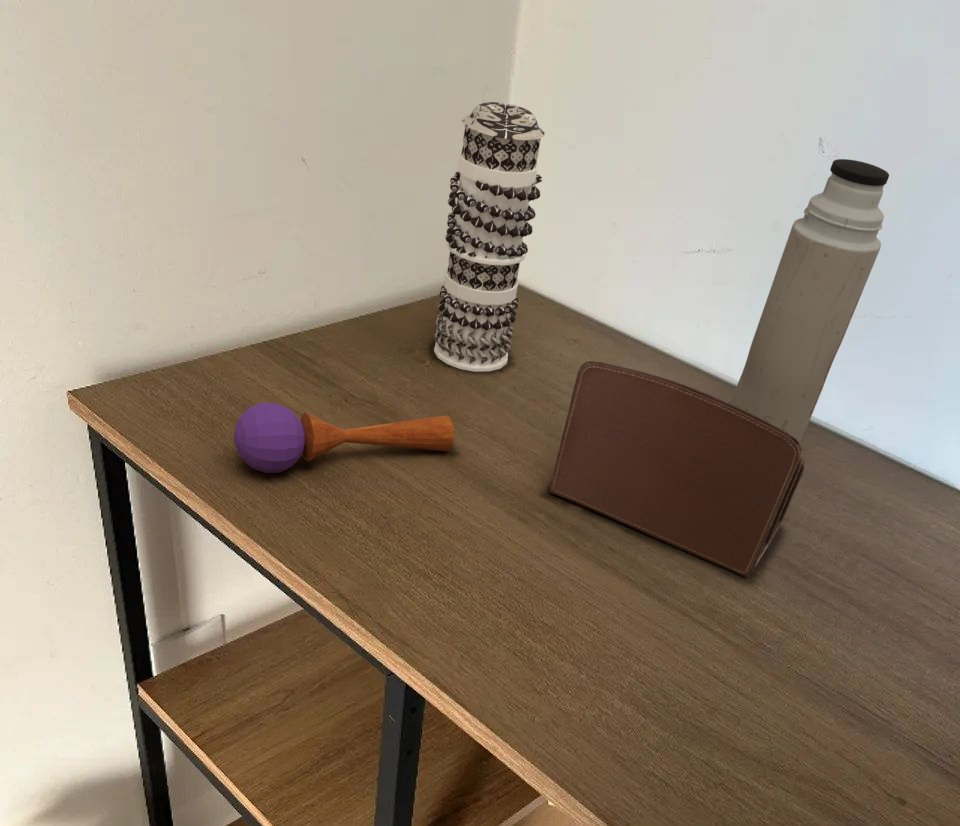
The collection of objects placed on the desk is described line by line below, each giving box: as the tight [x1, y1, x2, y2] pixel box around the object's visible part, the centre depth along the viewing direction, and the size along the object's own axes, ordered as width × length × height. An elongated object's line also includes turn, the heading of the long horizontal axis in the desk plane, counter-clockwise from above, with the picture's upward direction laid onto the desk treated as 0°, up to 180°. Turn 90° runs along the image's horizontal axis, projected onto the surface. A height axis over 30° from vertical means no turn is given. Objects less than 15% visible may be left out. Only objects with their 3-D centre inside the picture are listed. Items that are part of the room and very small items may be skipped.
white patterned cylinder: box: [433, 101, 546, 373], centre depth 100 cm, size 9×9×25 cm
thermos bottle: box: [730, 158, 890, 443], centre depth 92 cm, size 8×8×28 cm
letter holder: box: [549, 360, 806, 579], centre depth 85 cm, size 10×20×14 cm, turn 61°
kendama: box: [233, 402, 455, 474], centre depth 87 cm, size 6×6×20 cm
